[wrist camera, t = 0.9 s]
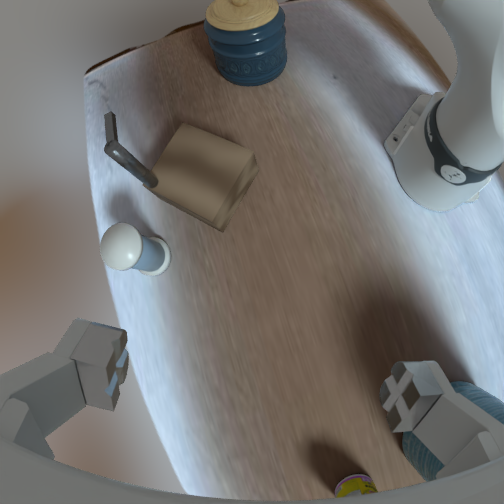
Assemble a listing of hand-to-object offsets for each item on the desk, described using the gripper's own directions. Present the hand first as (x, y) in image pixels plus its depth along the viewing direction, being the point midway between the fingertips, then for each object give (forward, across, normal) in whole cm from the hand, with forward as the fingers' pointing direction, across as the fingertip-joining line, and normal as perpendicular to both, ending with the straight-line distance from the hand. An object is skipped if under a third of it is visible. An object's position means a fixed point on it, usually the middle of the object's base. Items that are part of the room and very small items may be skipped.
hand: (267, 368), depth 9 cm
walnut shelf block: (+43, +5, +6) cm, 44 cm away
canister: (+56, +2, -16) cm, 58 cm away
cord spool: (+38, +12, +17) cm, 43 cm away
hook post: (+38, +14, +4) cm, 41 cm away
